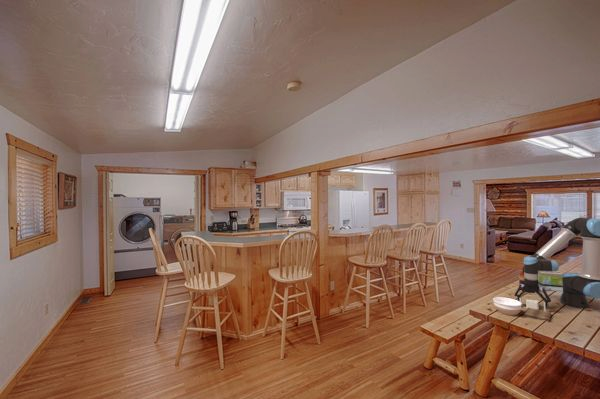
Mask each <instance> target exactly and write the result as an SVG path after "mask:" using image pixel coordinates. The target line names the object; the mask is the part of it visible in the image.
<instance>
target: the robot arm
mask: <svg viewBox="0 0 600 399" xmlns="http://www.w3.org/2000/svg"><path fill="white" fill-rule="evenodd" d="M579 235H580V236H579ZM576 237H580V238H581V239H582V256H581V271H580V272H579V273H578V272H563V273H562V283H563V292H562V293H561V296H560V298H559V302H560V303H561V304H563V305H565V306H568V307H569V306H570V307H574V308H577V309H578V308H580V309H589V308H590V307H591V304H590V302H589V300H588V298H592V299H597V300H598V299H599V300H600V218H596V217H594V218H593V217H576V218H574V219H572V220H570V221H569V222H567V223H566V224H565V225H563V226H562V227H561V228H560V231H559V232H558V233H557V234H555V235H554V236H553V237H552V238H551V239H550V240H549V241H547V242H546V244H544V245H543V246H541V248H540V249H538V250H537V251H536V252H535V253H534V254H533V255H527V256H524V258H523V267H524V277H525V285H523V284H519V283H518V287H517V290H516V292H515V293H514V296H515V297H517V301H520V302H521V303H522V305H523V302H522V300H523V299H522V296H523V295H524V294H526V293H527V292H526V291H529V292H534V293H533V294H535V292H536V294H537V295H538V296H539V297H540V298H541V299H542V301H543V311H547V308H548V306H549V304H548V303H552V300H551V297H549V295H548V293H547V290H545V288H544V287H543V288H542V287H539V283H538V271H552V272H558V271H559V270H560V266H559V263H558V262H557V261H556V260H552V259H550V258H551V257H552V256H553V255H554V254H556V253H557V252H558V251H559V250H560V249H561V248H562V247H564V246H565V245H566V244H567V243H569V241H570V240H572V239H573V238H576ZM548 259H550V260H548ZM523 286H524V287H525V288H526V289H525V290H524V291H521V292H520V289H521V287H523ZM539 290H540V291H539ZM519 292H520V293H519ZM541 292H542V293H543V294H542V293H541ZM522 305H521V307H523V306H522Z"/></svg>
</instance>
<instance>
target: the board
mask: <svg viewBox="0 0 600 399" xmlns="http://www.w3.org/2000/svg"><path fill="white" fill-rule="evenodd" d="M524 317H525V318H528V319H529V318H530V319H534V320H538V319H539V321H542V320H545V321H544V322H546V321H548V322H547V323H549V322H550V321H551V318H550V317H552V312H551V311H547V310H546V311H544V309H543V310H542V309H539V310H538V309H533V308H527V309H526V310H525V312H524Z"/></svg>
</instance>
